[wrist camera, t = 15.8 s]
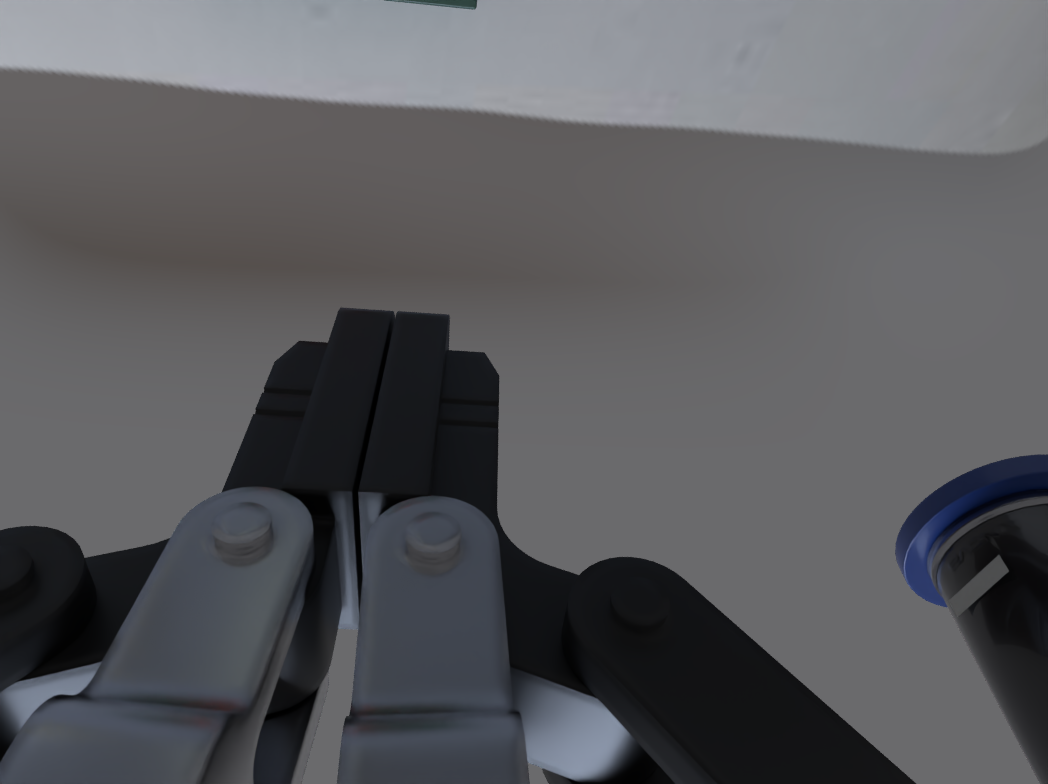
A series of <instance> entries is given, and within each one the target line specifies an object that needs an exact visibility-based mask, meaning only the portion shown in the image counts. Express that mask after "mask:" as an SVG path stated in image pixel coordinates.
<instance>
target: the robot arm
mask: <svg viewBox="0 0 1048 784" xmlns="http://www.w3.org/2000/svg"><path fill="white" fill-rule="evenodd" d="M449 319H450V318H449V315H446V314H431V313H417V312H416V313H415V312H401V311H398V312H397V314H396V318H395V315H394V312H393V311H384V310H383V311H382V310H368V309H354V308H340V309H339V311H338V314H337V317H336V320H335V323H334V326H333V329H332V332H331V335H330V338H329V341H328V343H324V342H309V341H299V342H297V343H296V344H295V345H294V346H293V347H292V348H290V349H289V350H288V351H287V352H286V353H285V354H283V355H282V356H281V357H280V358H279V359H278V360H276V361H275V362H274V365H273V367H272V370H271V372H270V375H269V377H268V380H267V382H266V385H265V387H264V393H262V394H261V397H260V399H259V402H258V404H257V407H256V413H255V414H253V417H252V419H251V421H250V424H249V426H248V429H247V431H246V434H245V436H244V439H243V441H242V444H241V446H240V449H239V451H238V453H237V456H236V459H235V461H234V463H233V466H232V468H231V471H230V473H229V476H228V478H227V481H226V483H225V486H224V488H223V490H222V492H221V493H219V494H216V495H214V496H212V497H209V498H208V499H206V500H204V501H202V502H201V503H199V504H198V505H196V506H195V507H194V508H193V509H191V510H190V511H189V512H188V513H187V514H186V515H185V516H184V517H183V518H182V520H181V521H180V523H179V524H178V526H177V527H176V529H175V531H174V532H173V534H172V536H171V538H169V539H167V540H164V541H160V542H158V543H155V544H151V545H147V546H143V547H138V548H133V549H128V550H123V551H117V552H113V553H108V554H102V555H97V556H92V557H88V558H84V555H83V553H82V551H81V548H80V546H79V545H78V543H77V542H76V541H75V540H74V539H73V538H72V537H70V536H69V535H67V534H66V533H64V532H61V531H59V530H56V529H52V528H48V527H39V526H21V527H15V528H8V529H4V530H0V784H301V783H302V779H303V776H304V772H305V769H306V766H307V762H308V758H309V755H310V751H311V748H312V744H313V741H314V737H315V734H316V730H317V727H318V723H319V720H320V716H321V713H322V709H323V706H324V702H325V698H326V695H327V692H328V686H329V672H328V670H329V667H330V664H331V660H332V655H333V650H334V645H335V640H336V635H337V630H338V629H358V637H357V648H356V659H355V670H354V681H353V693H352V703H351V710H350V715H349V716H347V717H346V718H345V722H344V727H343V732H342V740H341V748H340V758H339V769H338V778H337V784H530V782H529V773H528V763H531V764H533V765H536V766H538V767H541V768H542V770H543V773H544V775H545V777H546V779H547V781H548V783H549V784H916V783H915V782H914V781H912V780H911V779H910V778H909V777H908V776H907V775H906V774H905V773H904V772H902V771H901V770H900V769H899V768H898V767H897V766H895V765H894V764H893V763H892V762H891V761H890V760H889V759H888V758H886V757H885V756H884V755H883V754H882V753H880V751H878V750H877V749H876V748H875V747H874V746H873V745H872V744H870V743H869V742H868V741H867V740H866V739H865V738H864V737H863V736H861V735H860V734H859V733H858V732H857V731H856V730H855V729H854V728H852V727H851V726H850V725H849V724H848V723H847V722H846V721H845V720H843V719H842V718H841V717H840V716H839V715H838V714H837V713H835V712H834V711H833V710H832V709H831V708H830V707H829V706H827V705H826V704H825V703H824V702H823V701H822V700H821V699H820V698H818V697H817V696H816V695H815V694H814V693H813V692H812V691H810V690H809V689H808V688H807V687H806V686H805V685H803V683H801V682H800V681H799V680H798V679H797V678H796V677H794V676H793V675H792V674H791V673H790V672H789V671H788V670H787V669H785V668H784V667H783V666H782V665H781V664H780V663H778V661H776V660H775V659H774V658H773V657H772V656H770V654H768V653H767V652H766V651H765V650H764V649H763V648H762V647H760V646H759V645H758V644H757V643H756V642H755V641H754V640H753V639H751V638H750V637H749V636H748V635H747V634H746V633H745V632H743V631H742V630H741V629H740V628H739V627H738V626H737V625H736V624H734V623H733V622H732V621H731V620H730V619H729V618H727V617H726V616H725V615H724V614H723V613H722V612H721V611H720V610H718V609H717V608H716V607H715V606H714V605H713V604H712V603H711V602H709V601H708V600H707V599H706V598H705V597H704V596H703V595H701V594H700V593H699V592H698V591H697V590H696V589H695V588H694V587H692V586H691V585H690V584H689V583H688V582H687V581H686V580H684V579H683V578H682V577H681V576H679V575H678V574H677V573H675V572H674V571H672V570H670V569H668V568H667V567H665V566H663V565H660V564H658V563H655V562H653V561H649V560H645V559H641V558H634V557H617V558H609V559H606V560H603V561H600V562H597V563H595V564H594V565H591V566H590V567H588V568H587V569H586V570H584V571H583V572H582V573H581V574H580V575H577V574H574V573H571V572H568V571H565V570H561V569H558V568H555V567H552V566H549V565H547V564H544V563H542V562H539V561H537V560H535V559H533V558H532V557H530V556H528V555H527V554H525V553H524V552H522V551H521V550H520V549H519V548H517V547H516V546H515V545H514V544H513V543H512V542H511V541H510V539H509V538H508V537H507V535H506V534H505V533H504V531H503V529H502V527H501V525H500V522H499V518H498V513H497V474H498V473H497V472H498V419H499V418H498V417H499V407H498V406H499V375H498V373H497V372H496V370H495V368H494V367H493V365H492V364H491V362H490V360H489V359H488V357H487V356H486V354H485V353H483V352H468V351H452V350H449V325H450V320H449ZM927 571H928V574H929V577H930V579H931V581H932V582H933V584H934V586H935V588H936V590H937V592H938V593H939V594H940V596H941V597H942V598H943V599H944V601H945V603H946V605H947V607H948V609H949V611H950V612H951V615H952V616H953V618H954V620H955V622H956V624H957V626H958V628H959V630H960V633H961V634H962V636H963V638H964V640H965V642H966V644H967V646H968V648H969V650H970V652H971V653H972V655H973V657H974V659H975V661H976V663H977V665H978V666H979V668H980V671H981V672H982V674H983V676H984V678H985V680H986V682H987V684H988V686H989V687H990V690H991V691H992V693H993V695H994V697H995V699H996V701H997V703H998V705H999V707H1000V709H1001V710H1002V712H1003V714H1004V716H1005V718H1006V720H1007V722H1008V724H1009V726H1010V727H1011V730H1012V731H1013V733H1014V735H1015V737H1016V739H1017V741H1018V743H1019V745H1020V747H1021V749H1022V750H1023V752H1024V754H1025V756H1026V758H1027V760H1028V762H1029V764H1030V766H1031V768H1032V770H1033V771H1034V773H1035V775H1036V777H1037V779H1038V781H1039V783H1040V784H1048V489H1038V490H1029V491H1023V492H1018V493H1014V494H1010V495H1006V496H1003V497H1000V498H997V499H994V500H992V501H989V502H987V503H985V504H983V505H980V506H978V507H976V508H975V509H973V510H971V511H969V512H967V513H966V514H964V515H963V516H961V517H960V518H958V519H957V520H956V521H954V522H953V523H952V524H951V525H950V526H948V527H947V528H946V529H945V530H944V531H943V532H942V533H941V535H940V536H939V537H938V538H937V539H936V541H935V542H934V544H933V546H932V547H931V549H930V552H929V554H928V558H927Z"/></svg>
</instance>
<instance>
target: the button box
mask: <svg viewBox="0 0 1048 784" xmlns="http://www.w3.org/2000/svg"><path fill="white" fill-rule="evenodd" d="M386 1H396V2H406V3H416V4H425V5H435V6H445V7H455V8H464V9H476V7H477V0H386Z"/></svg>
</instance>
